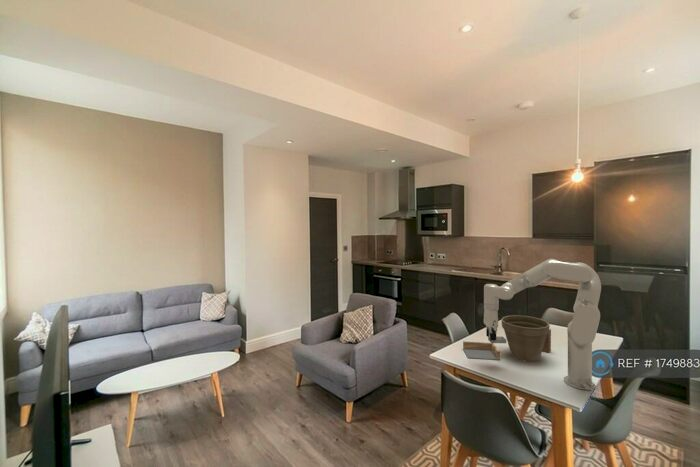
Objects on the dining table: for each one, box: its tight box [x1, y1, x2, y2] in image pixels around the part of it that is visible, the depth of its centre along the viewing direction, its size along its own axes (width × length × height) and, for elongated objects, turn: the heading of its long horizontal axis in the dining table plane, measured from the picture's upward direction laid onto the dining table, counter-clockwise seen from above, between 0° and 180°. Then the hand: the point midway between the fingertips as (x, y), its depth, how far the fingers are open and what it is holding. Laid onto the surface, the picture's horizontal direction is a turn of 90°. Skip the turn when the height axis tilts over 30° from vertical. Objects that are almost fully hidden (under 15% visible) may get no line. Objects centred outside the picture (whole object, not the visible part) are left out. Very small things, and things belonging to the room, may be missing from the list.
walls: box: [462, 340, 501, 361], centre depth 185 cm, size 14×18×5 cm
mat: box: [463, 349, 501, 361], centre depth 185 cm, size 14×18×1 cm
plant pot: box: [501, 314, 551, 363], centre depth 181 cm, size 25×25×22 cm
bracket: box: [487, 327, 507, 344], centre depth 171 cm, size 8×5×8 cm, turn 84°
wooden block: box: [542, 328, 552, 353], centre depth 192 cm, size 4×11×18 cm, turn 36°
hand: (491, 337), depth 171 cm, fingers closed on bracket, 5 cm apart
